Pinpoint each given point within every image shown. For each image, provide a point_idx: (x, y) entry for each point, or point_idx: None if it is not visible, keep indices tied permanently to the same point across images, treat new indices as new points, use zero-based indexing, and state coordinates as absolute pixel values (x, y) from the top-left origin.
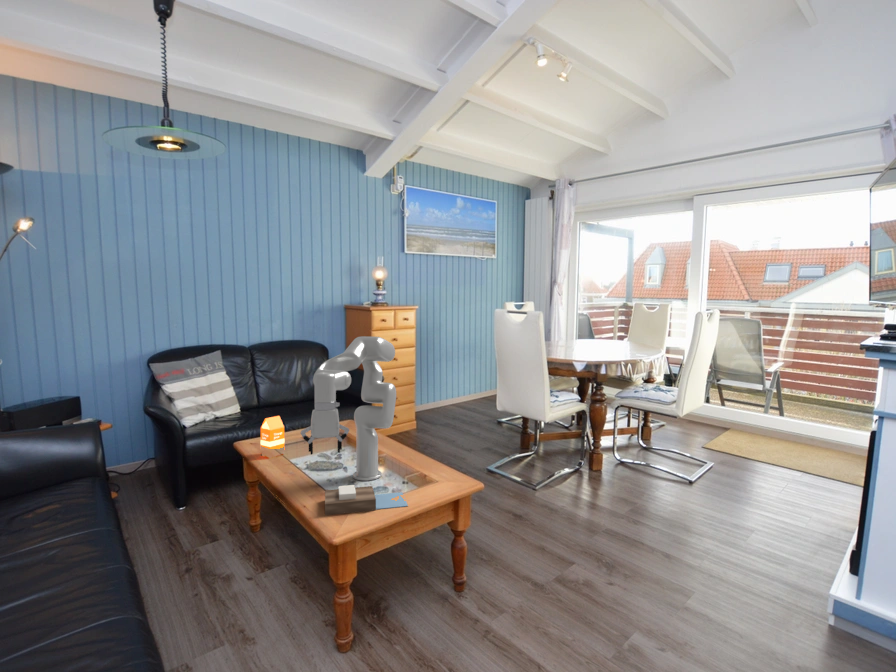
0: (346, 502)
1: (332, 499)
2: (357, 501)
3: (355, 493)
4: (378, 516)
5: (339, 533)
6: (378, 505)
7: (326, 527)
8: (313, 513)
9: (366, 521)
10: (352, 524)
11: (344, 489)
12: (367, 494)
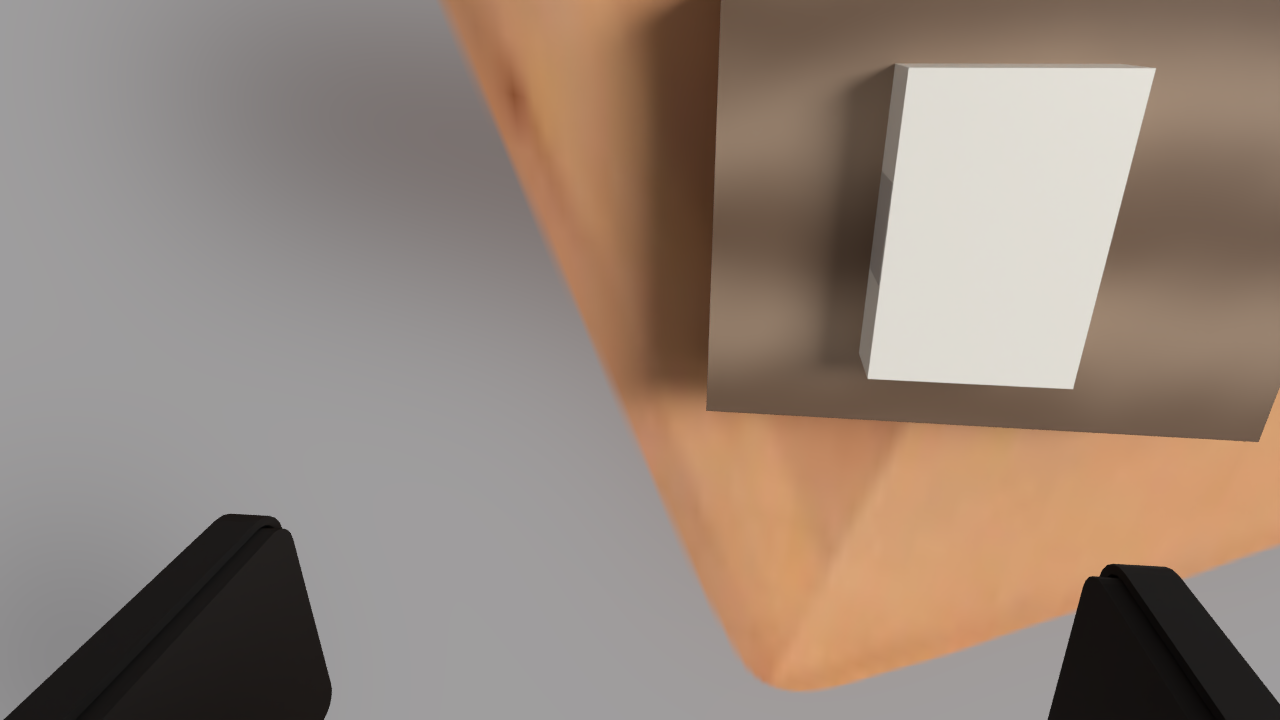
0: (924, 421)
1: (789, 314)
2: (1043, 427)
3: (1065, 388)
4: (1161, 511)
5: (797, 662)
6: None
7: (715, 563)
8: (611, 296)
9: (1029, 563)
10: (909, 575)
11: (963, 223)
12: (1226, 275)
